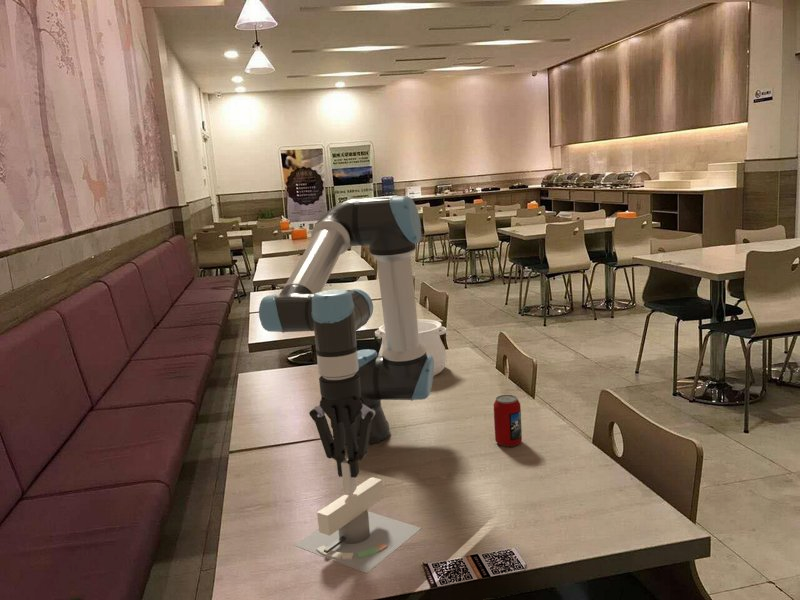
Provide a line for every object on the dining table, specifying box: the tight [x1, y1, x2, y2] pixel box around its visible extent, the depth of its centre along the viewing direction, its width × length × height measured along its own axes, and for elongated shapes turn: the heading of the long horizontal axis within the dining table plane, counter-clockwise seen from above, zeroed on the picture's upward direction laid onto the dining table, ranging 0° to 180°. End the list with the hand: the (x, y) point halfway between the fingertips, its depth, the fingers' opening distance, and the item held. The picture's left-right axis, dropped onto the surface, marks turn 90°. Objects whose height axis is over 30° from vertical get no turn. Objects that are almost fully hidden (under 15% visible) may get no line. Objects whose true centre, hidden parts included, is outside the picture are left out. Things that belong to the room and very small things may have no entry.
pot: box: [374, 318, 447, 377], centre depth 233 cm, size 26×24×17 cm
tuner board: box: [293, 510, 422, 574], centre depth 127 cm, size 18×17×2 cm
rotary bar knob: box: [316, 476, 384, 553], centre depth 126 cm, size 6×16×8 cm, turn 144°
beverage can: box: [493, 394, 523, 448], centre depth 166 cm, size 7×7×12 cm
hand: (350, 491), depth 126 cm, fingers closed
